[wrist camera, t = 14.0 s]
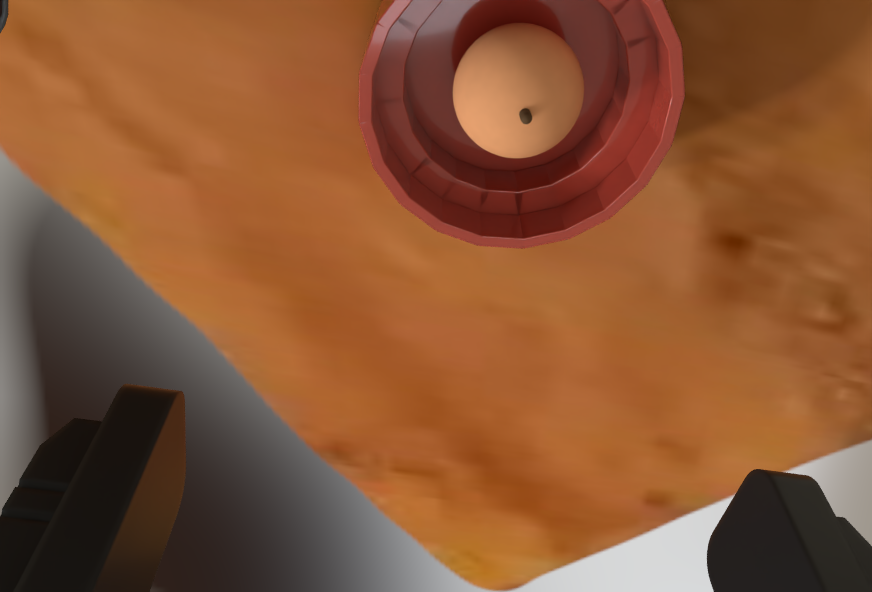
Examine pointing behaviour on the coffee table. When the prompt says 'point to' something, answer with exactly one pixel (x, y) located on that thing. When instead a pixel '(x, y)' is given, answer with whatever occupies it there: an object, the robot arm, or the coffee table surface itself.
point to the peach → (518, 90)
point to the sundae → (3, 13)
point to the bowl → (532, 176)
